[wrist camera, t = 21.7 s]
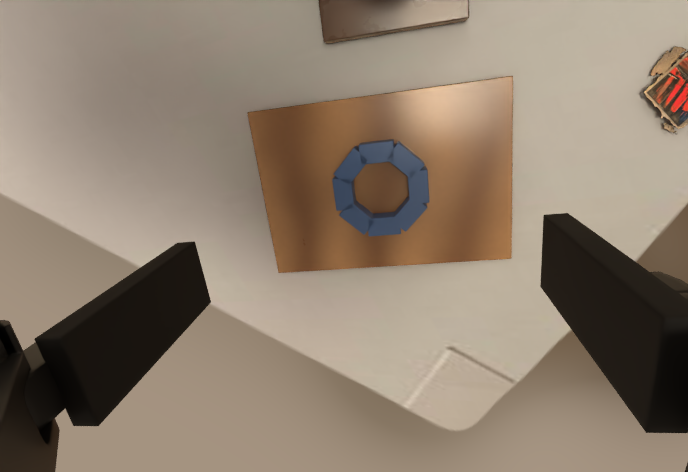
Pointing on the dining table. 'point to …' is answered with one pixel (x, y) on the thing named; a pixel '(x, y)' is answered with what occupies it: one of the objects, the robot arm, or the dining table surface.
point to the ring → (390, 220)
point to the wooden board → (390, 176)
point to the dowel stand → (386, 16)
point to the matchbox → (671, 88)
